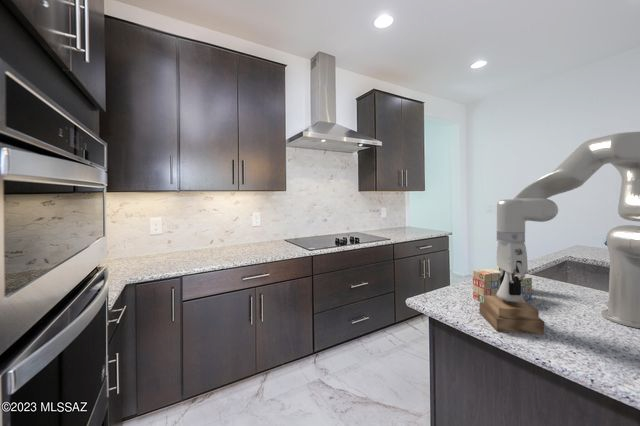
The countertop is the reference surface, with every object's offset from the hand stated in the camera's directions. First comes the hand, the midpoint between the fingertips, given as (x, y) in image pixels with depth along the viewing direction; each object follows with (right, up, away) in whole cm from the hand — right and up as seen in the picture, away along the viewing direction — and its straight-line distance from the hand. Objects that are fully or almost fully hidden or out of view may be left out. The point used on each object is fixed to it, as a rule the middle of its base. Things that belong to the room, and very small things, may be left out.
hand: (509, 291), depth 86 cm
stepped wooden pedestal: (0, -11, +1) cm, 11 cm away
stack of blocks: (+12, -10, +20) cm, 25 cm away
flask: (0, -3, 0) cm, 3 cm away
